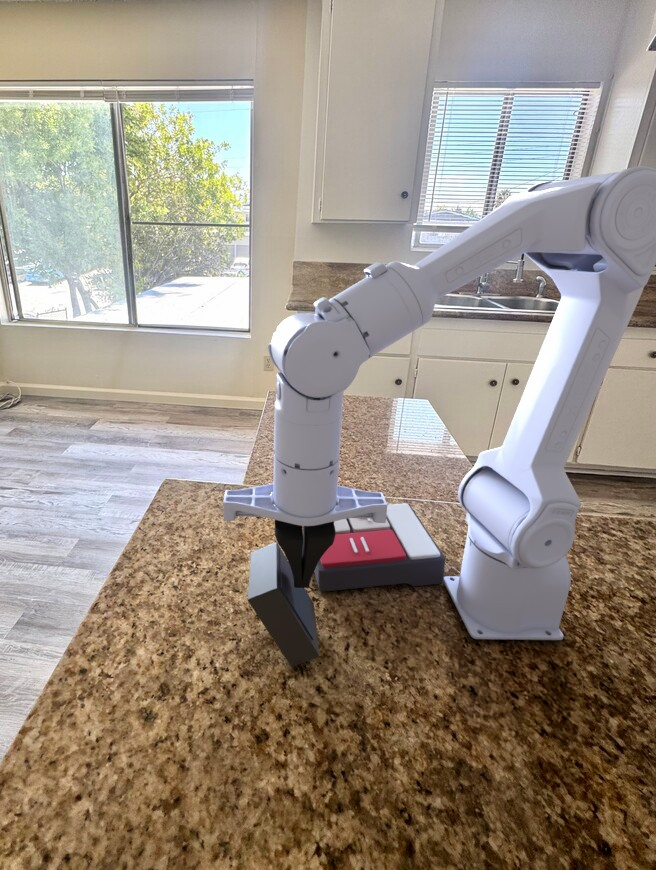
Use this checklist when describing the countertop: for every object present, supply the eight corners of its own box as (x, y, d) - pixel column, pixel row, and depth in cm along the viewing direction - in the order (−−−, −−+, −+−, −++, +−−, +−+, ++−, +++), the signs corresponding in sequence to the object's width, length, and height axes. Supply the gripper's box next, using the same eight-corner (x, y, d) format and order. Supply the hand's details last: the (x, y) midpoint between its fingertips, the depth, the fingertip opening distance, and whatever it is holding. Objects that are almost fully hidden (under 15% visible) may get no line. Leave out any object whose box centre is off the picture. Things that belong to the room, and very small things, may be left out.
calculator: (303, 507, 57) (409, 497, 59) (303, 533, 59) (407, 523, 60) (319, 566, 47) (447, 553, 48) (319, 596, 48) (444, 583, 49)
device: (315, 603, 45) (277, 540, 43) (321, 656, 39) (278, 587, 37) (288, 613, 45) (250, 552, 43) (291, 667, 40) (247, 600, 37)
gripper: (378, 434, 40) (367, 551, 44) (227, 432, 40) (229, 549, 44) (399, 473, 33) (384, 607, 37) (218, 470, 33) (222, 605, 37)
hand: (301, 579), depth 40 cm, fingers closed
